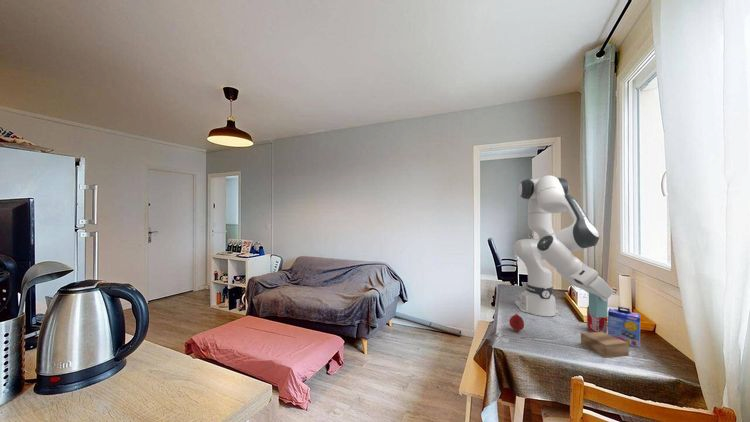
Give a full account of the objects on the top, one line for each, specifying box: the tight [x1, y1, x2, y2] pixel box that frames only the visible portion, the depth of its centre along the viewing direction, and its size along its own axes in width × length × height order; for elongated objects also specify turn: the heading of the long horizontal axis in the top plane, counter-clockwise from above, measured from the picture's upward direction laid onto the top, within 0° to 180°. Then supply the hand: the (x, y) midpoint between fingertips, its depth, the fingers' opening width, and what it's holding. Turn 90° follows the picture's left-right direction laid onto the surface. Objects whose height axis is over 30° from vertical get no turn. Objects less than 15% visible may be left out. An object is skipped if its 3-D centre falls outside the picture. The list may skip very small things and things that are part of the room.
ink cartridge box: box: [607, 306, 641, 348], centre depth 113 cm, size 10×6×14 cm, turn 45°
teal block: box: [588, 292, 609, 319], centre depth 105 cm, size 4×4×10 cm
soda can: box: [586, 305, 608, 334], centre depth 122 cm, size 7×7×12 cm
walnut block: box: [580, 331, 630, 359], centre depth 106 cm, size 10×10×5 cm
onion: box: [509, 312, 525, 332], centre depth 122 cm, size 6×6×8 cm
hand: (599, 297), depth 105 cm, fingers closed on teal block, 4 cm apart
